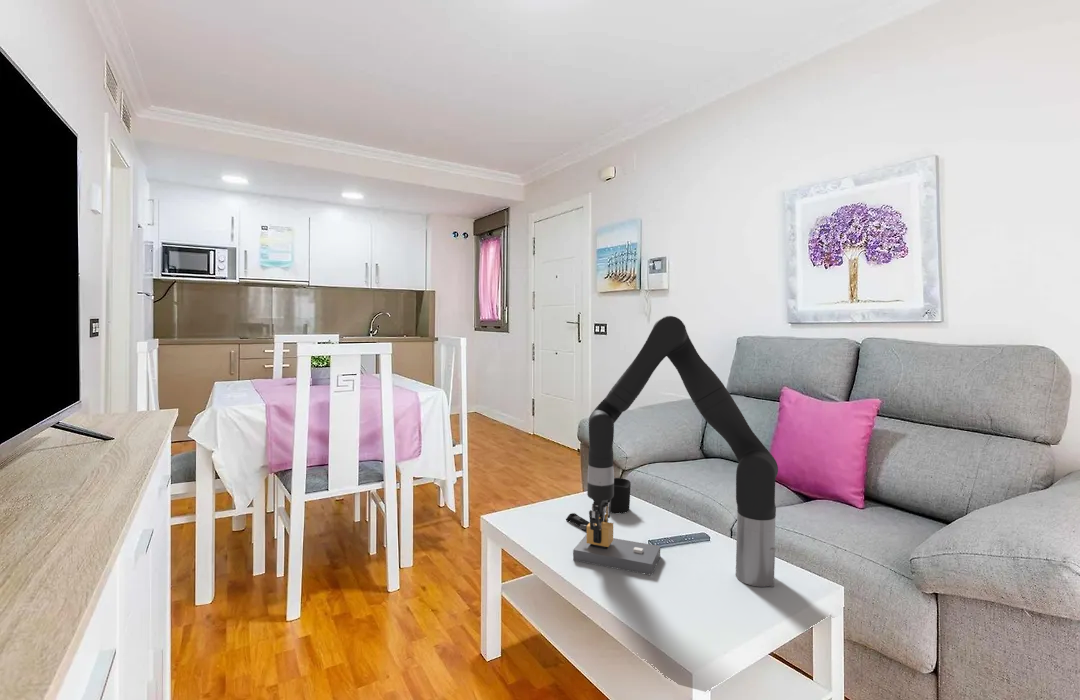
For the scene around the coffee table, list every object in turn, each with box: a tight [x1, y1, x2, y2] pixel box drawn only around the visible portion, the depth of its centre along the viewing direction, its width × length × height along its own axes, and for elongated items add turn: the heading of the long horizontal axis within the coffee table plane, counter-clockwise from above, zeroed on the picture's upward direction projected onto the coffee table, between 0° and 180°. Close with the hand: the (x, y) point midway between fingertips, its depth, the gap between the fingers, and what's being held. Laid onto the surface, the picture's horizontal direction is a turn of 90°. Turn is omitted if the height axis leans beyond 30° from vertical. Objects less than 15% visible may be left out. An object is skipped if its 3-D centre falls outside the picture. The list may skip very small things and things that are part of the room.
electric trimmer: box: [566, 512, 590, 532], centre depth 170 cm, size 4×16×3 cm, turn 31°
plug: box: [579, 521, 614, 549], centre depth 151 cm, size 9×5×8 cm, turn 66°
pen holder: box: [610, 477, 632, 514], centre depth 186 cm, size 9×9×10 cm
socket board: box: [572, 533, 661, 576], centre depth 148 cm, size 22×12×4 cm, turn 67°
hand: (600, 538), depth 150 cm, fingers closed on plug, 5 cm apart
